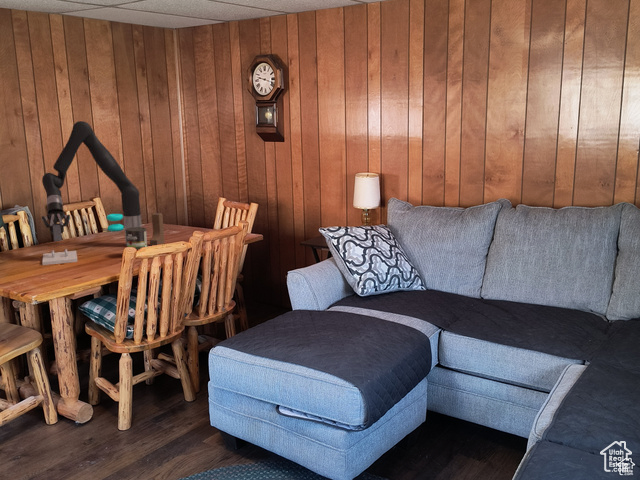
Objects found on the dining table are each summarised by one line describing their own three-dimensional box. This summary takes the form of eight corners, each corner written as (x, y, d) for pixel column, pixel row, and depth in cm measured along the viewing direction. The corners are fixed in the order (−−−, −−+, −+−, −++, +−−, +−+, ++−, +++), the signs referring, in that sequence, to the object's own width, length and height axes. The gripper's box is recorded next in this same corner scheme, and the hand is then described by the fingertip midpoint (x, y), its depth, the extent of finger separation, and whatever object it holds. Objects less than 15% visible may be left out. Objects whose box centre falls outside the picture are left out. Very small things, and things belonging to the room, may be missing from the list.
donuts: (103, 214, 381) (117, 212, 388) (104, 230, 383) (119, 228, 390) (111, 216, 374) (125, 214, 381) (112, 232, 376) (127, 229, 384)
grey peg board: (43, 256, 314) (42, 248, 313) (76, 253, 320) (75, 245, 319) (42, 265, 296) (41, 256, 295) (77, 261, 302) (76, 252, 301)
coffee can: (139, 258, 307) (137, 231, 305) (123, 256, 311) (121, 230, 308) (152, 253, 317) (150, 227, 314) (136, 252, 321) (134, 226, 318)
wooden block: (157, 248, 330) (155, 215, 327) (150, 247, 331) (147, 215, 327) (164, 244, 339) (162, 213, 335) (157, 244, 340) (155, 213, 336)
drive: (54, 239, 308) (52, 223, 306) (61, 238, 309) (60, 223, 307) (54, 241, 303) (52, 225, 301) (61, 240, 304) (60, 225, 303)
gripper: (39, 202, 306) (41, 229, 298) (69, 200, 311) (72, 227, 303) (40, 210, 312) (42, 238, 303) (70, 209, 317) (72, 235, 309)
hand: (57, 232), depth 303 cm, fingers closed on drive, 3 cm apart
